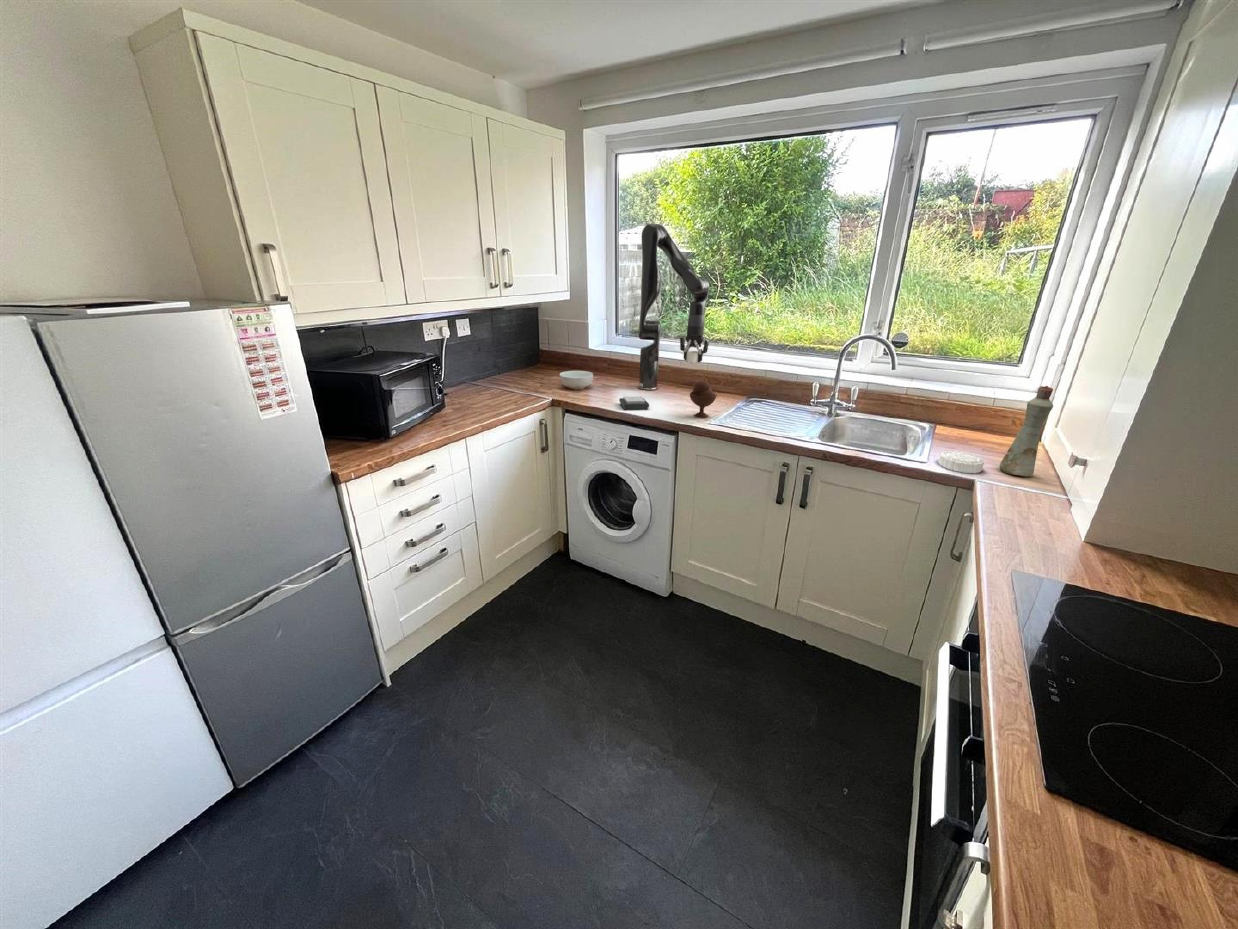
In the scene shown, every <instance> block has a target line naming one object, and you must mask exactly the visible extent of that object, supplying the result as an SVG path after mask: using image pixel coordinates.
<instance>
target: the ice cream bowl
mask: <svg viewBox="0 0 1238 929" xmlns="http://www.w3.org/2000/svg"><path fill="white" fill-rule="evenodd" d="M717 396H718V394H717V393H715V392H714V391H713V390H712V388H711V384H709V383H708V382H707V381H706V380H699V381H697V382H696V383H695V385H694V387H693V389H692V391H690V393H689V398H690V400H691V401H692V403H693V404H694V405H695V406H697V407H699V412H696V413H695V414H694V417H695V418H699V419H707V418H708V417H709V415H708V414H707V413H706V412H705V408H706V407H709V406H711V405H712V404H713V403H714V402H715V401H716V399H717Z"/></svg>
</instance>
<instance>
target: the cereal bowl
mask: <svg viewBox="0 0 1238 929" xmlns="http://www.w3.org/2000/svg"><path fill="white" fill-rule="evenodd" d="M559 381H560V383H561V384H562V385H563V386H564V387H567V388H568V389H570V390H584V389H585V388H586V387H588V386H591V384H592V383H593V381H594V373H593V372H591V371H587V370H566V371H562V372H560V373H559Z"/></svg>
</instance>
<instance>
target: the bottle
mask: <svg viewBox="0 0 1238 929" xmlns="http://www.w3.org/2000/svg"><path fill="white" fill-rule="evenodd" d="M1053 391H1054V388H1053V387H1050V386H1048V385H1045V386H1039V387H1038V389H1037V392H1036V394H1035V397H1033V398H1032V399H1030V400H1028V401H1027V402H1026V410H1025V416H1024V423H1023V424H1022V427H1021V428H1020V429H1019V431H1018V433H1017V435H1016V436H1015V438H1014V439H1013V441H1012V443H1011V445H1010V446H1009V448H1008V449H1007V451H1006V453H1005V454H1004V456H1003V458H1002V460H1001V461H1000V463H999V466H998V467H999V469H1000V471H1001V472H1002V473H1004V474H1009V475H1012V476H1013V475H1014V476H1021V477H1026V478H1028V477H1029V478H1030V477H1031V476H1033V474H1034V472H1035V467H1036V460H1037V456H1038V455H1037V454H1038V450H1039V445H1040V437H1041V430H1042V427H1043V425H1044V422H1046V420H1047V418H1048V416H1049V415H1050V413H1051V411H1052V410H1053V408H1054V404H1053V403H1052V401H1051V399H1050V398H1051V397H1052V394H1053Z"/></svg>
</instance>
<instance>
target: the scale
mask: <svg viewBox="0 0 1238 929" xmlns="http://www.w3.org/2000/svg"><path fill="white" fill-rule="evenodd" d="M642 398H643V399H644V400H645V404H626V403H625V401H624V400H623V398H622V397H621V398H620V397H619V403H620V405H621V407H622V408H623V409H624V410H625V411H639V410H640V411H641V410H642V411H643V410H644V411H645V410H648V409H649V408H650V403H649V402H648V401H647V400H646V399H645V398H644V397H642Z"/></svg>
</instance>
